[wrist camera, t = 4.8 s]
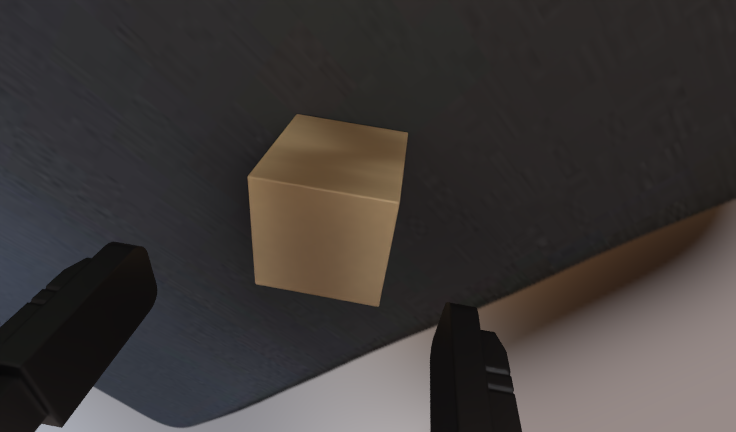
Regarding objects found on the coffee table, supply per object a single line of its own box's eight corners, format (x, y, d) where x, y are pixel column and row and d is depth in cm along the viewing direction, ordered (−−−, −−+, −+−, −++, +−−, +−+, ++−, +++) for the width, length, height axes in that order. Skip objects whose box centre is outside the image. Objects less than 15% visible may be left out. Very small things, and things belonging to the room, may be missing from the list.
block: (408, 131, 15) (399, 202, 11) (390, 223, 17) (378, 307, 13) (296, 113, 15) (246, 176, 11) (295, 206, 18) (254, 284, 14)
